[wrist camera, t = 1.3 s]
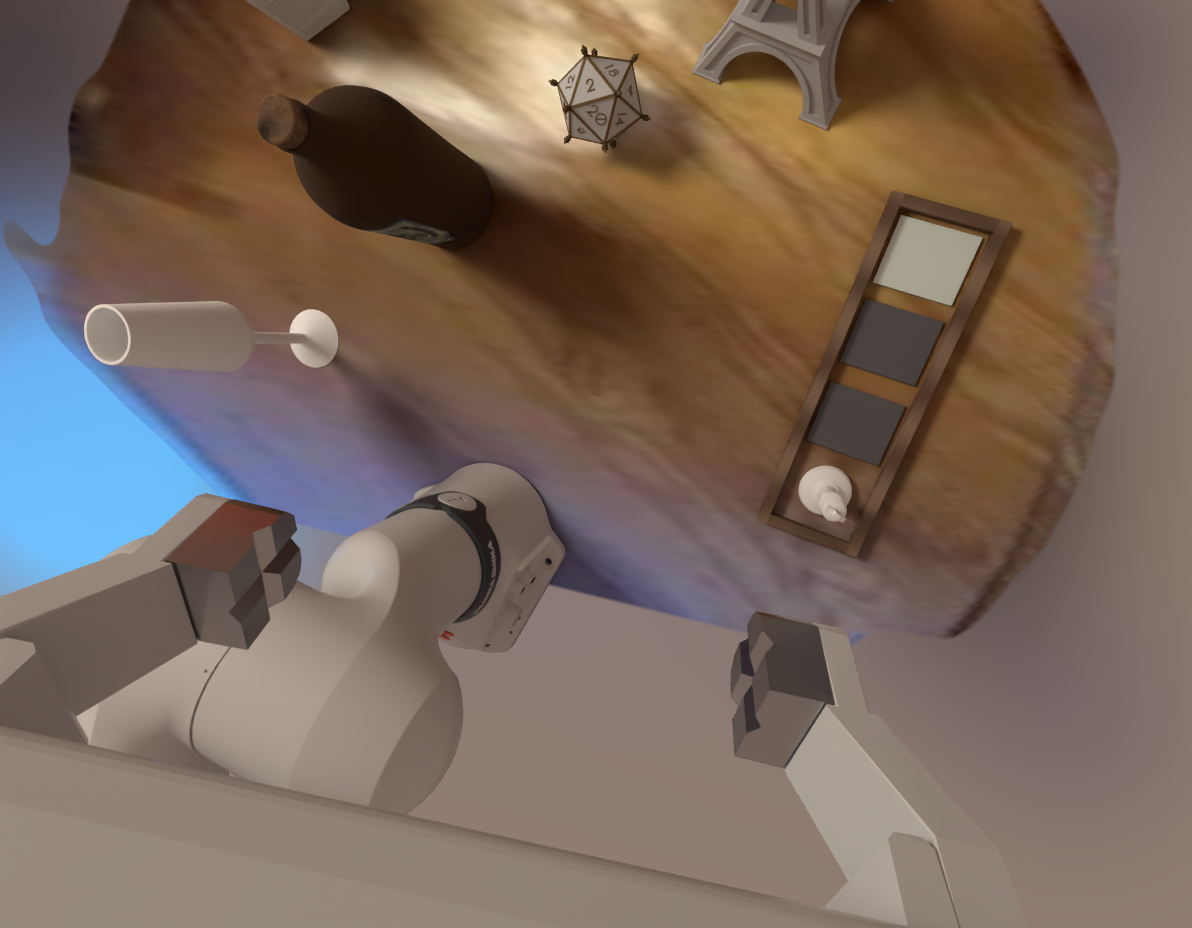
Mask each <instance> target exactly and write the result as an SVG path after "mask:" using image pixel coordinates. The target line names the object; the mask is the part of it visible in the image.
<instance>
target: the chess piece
mask: <svg viewBox="0 0 1192 928" xmlns="http://www.w3.org/2000/svg"><path fill="white" fill-rule="evenodd" d="M799 496H800V499H801V501H802V503H803V504H804V506H805V507H806V508H807V509H809V510H810V511H812V512H813V513H816V514H819V515H823V516H824V517H825V518H826V519H827V520H829V521H832V522H837V521H841V522H842V523H843V522H844V521H845V520H846V518H845V516H846V513H847V507H846V506H847V505H848V503H849V501H850V499H851V496H852V485H851V482H850V480H849V478H848V476H847V475H846V474H845V473H844V472H843V471H841V470H840V469H838V468H836V467H832V466H819V467H815V468H813V469H811V470H810V471H808V472H807V473H806V474H805V475H804V476H803V478H802V479H801V481H800V484H799Z"/></svg>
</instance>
